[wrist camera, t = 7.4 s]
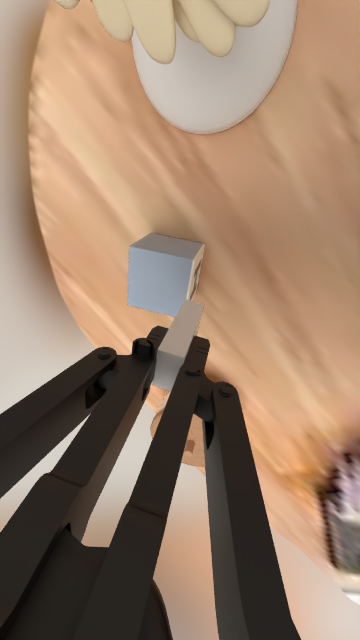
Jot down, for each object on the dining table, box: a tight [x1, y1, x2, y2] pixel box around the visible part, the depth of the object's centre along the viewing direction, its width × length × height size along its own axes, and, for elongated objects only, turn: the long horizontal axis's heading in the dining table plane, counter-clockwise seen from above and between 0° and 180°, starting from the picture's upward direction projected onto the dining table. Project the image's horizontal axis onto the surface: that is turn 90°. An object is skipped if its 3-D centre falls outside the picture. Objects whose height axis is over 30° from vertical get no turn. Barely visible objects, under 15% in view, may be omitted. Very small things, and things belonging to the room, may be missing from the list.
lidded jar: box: [151, 391, 205, 467], centre depth 33 cm, size 11×11×9 cm
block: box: [127, 233, 205, 317], centre depth 26 cm, size 6×6×6 cm
